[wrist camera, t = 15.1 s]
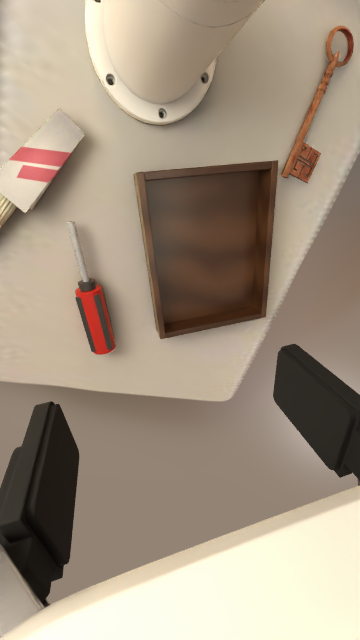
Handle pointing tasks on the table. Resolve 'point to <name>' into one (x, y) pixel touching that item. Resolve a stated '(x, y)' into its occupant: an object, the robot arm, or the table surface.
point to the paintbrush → (37, 164)
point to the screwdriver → (92, 304)
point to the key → (311, 113)
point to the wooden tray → (207, 243)
